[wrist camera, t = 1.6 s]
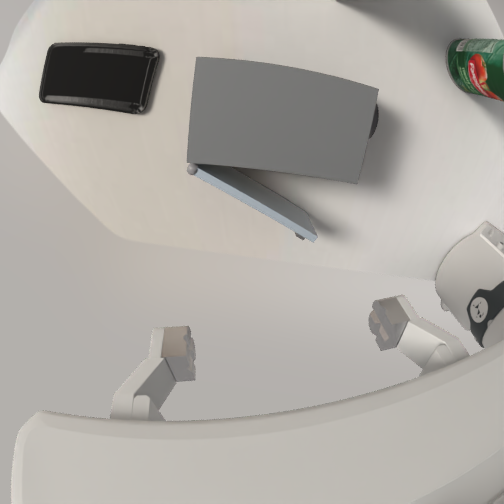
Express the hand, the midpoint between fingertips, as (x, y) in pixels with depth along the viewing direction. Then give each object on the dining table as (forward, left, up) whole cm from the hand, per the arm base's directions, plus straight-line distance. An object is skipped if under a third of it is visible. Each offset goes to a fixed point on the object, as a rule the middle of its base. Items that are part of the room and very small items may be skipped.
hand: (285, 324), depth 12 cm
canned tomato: (-25, -20, -24) cm, 40 cm away
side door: (0, +3, -23) cm, 24 cm away
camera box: (-1, -6, -24) cm, 25 cm away
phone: (+20, -10, -25) cm, 33 cm away
